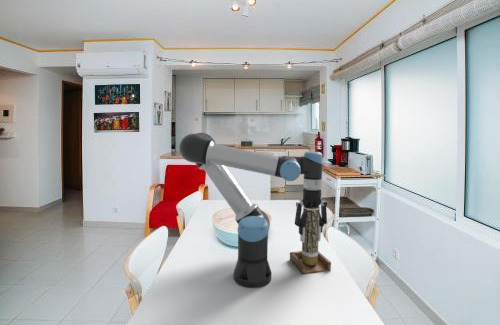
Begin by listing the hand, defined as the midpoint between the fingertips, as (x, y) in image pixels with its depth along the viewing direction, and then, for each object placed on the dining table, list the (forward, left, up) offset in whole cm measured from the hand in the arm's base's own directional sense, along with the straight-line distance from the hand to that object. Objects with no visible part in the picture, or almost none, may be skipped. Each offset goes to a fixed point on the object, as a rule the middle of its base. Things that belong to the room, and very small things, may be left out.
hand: (310, 240), depth 123 cm
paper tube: (0, 0, -10) cm, 10 cm away
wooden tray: (0, 0, -11) cm, 11 cm away
